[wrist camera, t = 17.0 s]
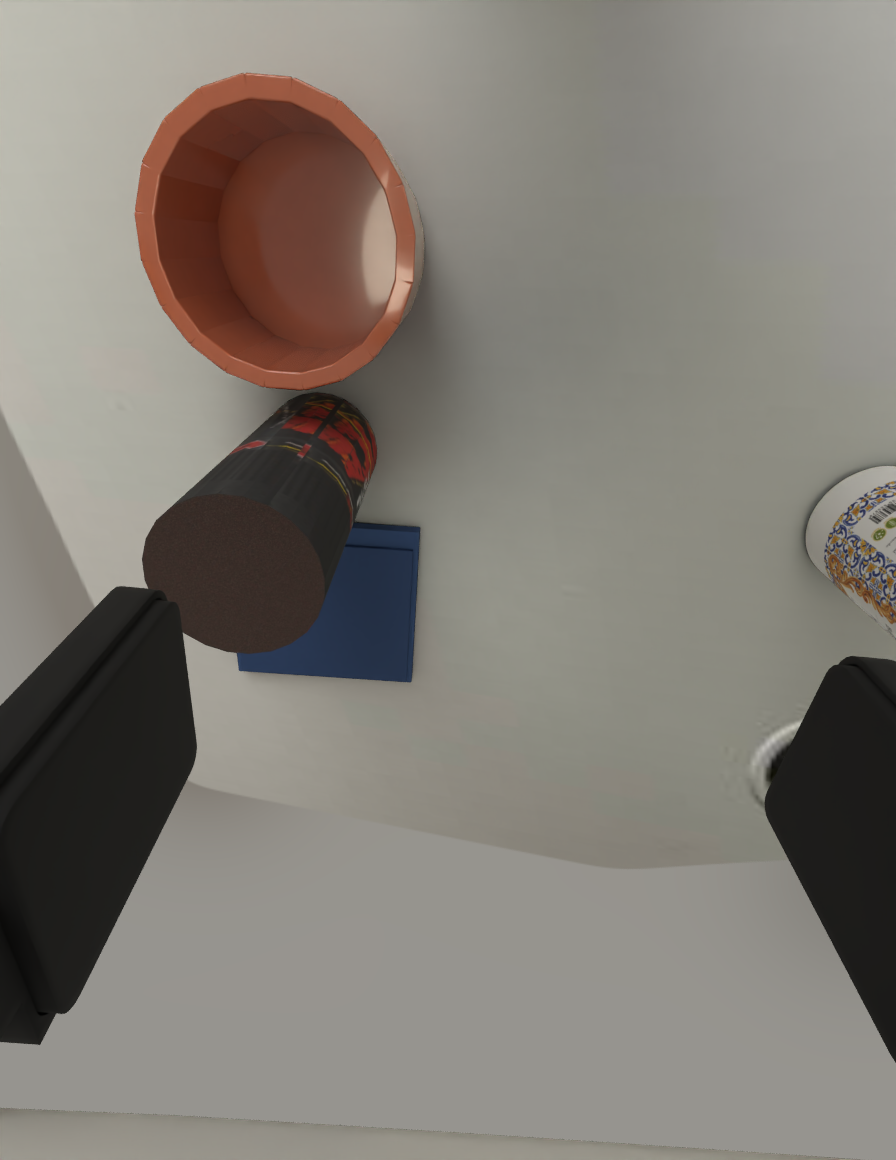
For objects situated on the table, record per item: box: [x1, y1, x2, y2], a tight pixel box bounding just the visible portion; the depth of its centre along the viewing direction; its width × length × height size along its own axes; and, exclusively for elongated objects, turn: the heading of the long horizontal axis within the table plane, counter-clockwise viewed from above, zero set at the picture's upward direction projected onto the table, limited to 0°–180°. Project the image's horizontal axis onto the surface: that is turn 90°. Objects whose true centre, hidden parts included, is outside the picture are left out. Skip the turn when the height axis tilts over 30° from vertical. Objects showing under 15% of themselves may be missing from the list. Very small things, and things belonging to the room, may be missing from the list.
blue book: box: [237, 523, 420, 682], centre depth 38 cm, size 10×11×1 cm
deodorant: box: [142, 393, 377, 654], centre depth 27 cm, size 6×6×15 cm
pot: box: [135, 73, 425, 390], centre depth 26 cm, size 10×10×8 cm
